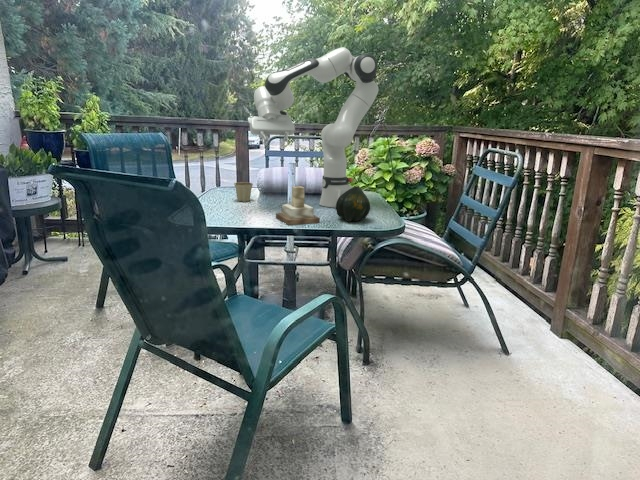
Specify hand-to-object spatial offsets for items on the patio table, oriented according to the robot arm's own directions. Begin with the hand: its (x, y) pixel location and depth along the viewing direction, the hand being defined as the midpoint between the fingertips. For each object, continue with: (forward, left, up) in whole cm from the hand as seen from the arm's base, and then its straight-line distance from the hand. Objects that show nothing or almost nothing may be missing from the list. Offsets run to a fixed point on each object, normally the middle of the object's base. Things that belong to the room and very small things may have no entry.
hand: (276, 140), depth 196 cm
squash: (-25, +26, -32) cm, 48 cm away
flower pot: (+7, -28, -32) cm, 43 cm away
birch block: (-2, +20, -25) cm, 33 cm away
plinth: (-2, +20, -31) cm, 37 cm away
